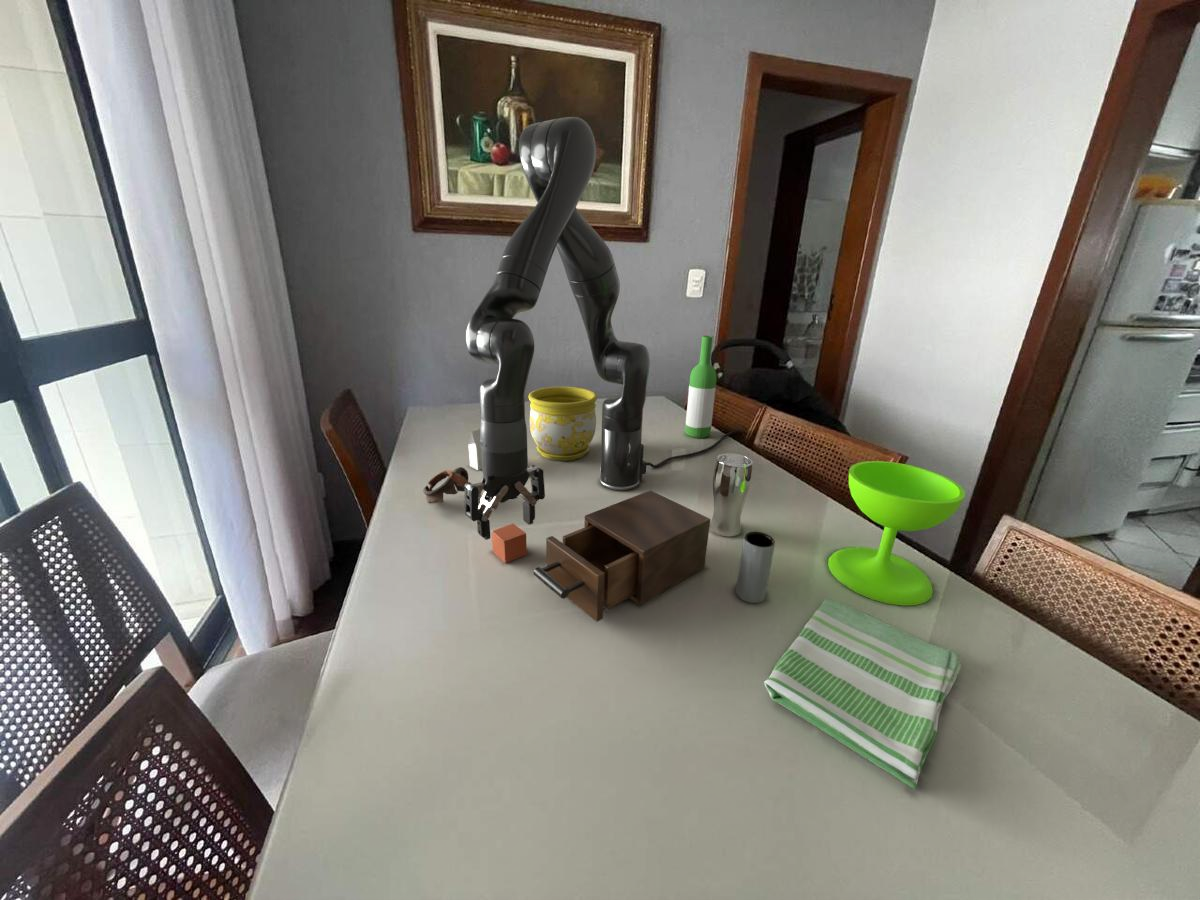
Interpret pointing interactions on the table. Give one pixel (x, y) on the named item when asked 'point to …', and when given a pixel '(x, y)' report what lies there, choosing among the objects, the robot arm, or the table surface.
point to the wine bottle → (701, 394)
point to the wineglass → (894, 528)
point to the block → (509, 542)
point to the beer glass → (730, 493)
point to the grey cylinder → (755, 566)
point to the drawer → (590, 570)
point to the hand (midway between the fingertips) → (507, 529)
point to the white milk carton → (475, 449)
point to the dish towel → (867, 686)
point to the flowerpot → (562, 421)
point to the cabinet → (656, 540)
